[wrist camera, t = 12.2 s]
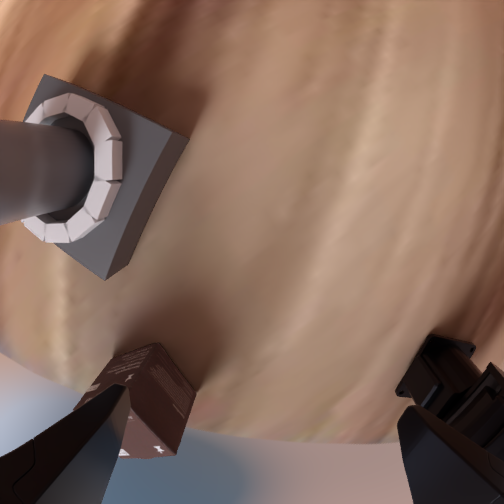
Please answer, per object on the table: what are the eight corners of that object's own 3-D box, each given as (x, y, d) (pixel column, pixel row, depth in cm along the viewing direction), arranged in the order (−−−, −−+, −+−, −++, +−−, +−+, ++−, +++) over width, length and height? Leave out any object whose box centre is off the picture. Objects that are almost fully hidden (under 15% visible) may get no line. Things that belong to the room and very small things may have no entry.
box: (160, 339, 22) (123, 398, 15) (199, 393, 23) (178, 457, 16) (110, 358, 23) (70, 408, 16) (147, 405, 24) (120, 460, 17)
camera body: (189, 139, 18) (164, 129, 13) (127, 264, 20) (95, 287, 16) (70, 83, 17) (33, 70, 12) (27, 192, 20) (-11, 199, 15)
